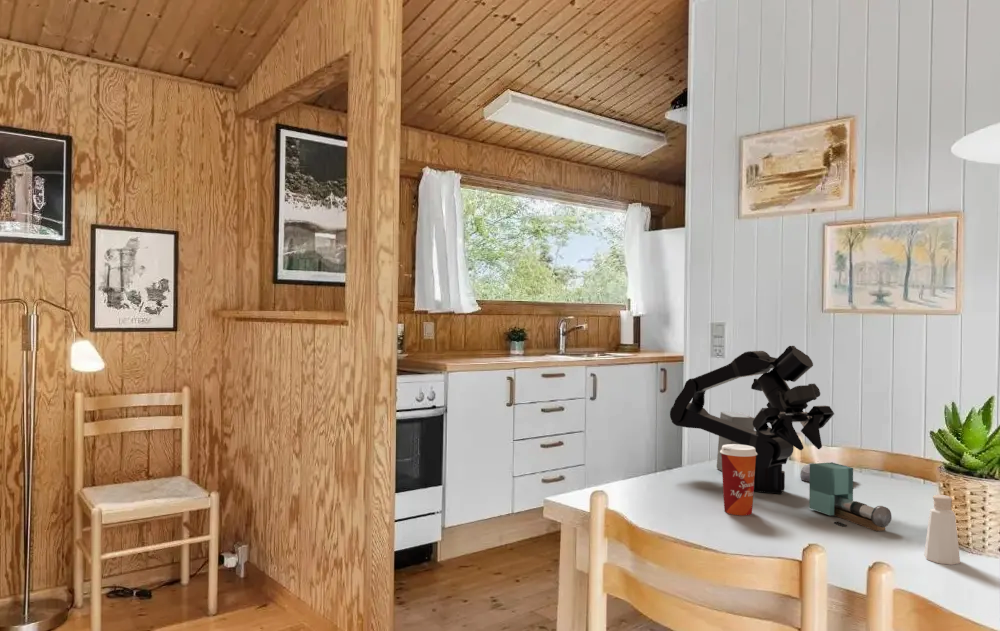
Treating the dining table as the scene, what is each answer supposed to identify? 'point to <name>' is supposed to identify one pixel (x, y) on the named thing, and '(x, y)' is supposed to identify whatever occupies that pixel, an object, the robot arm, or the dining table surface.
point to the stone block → (806, 472)
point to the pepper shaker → (942, 533)
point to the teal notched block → (829, 485)
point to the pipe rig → (861, 514)
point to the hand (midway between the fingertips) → (811, 448)
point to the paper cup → (738, 478)
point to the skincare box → (737, 419)
